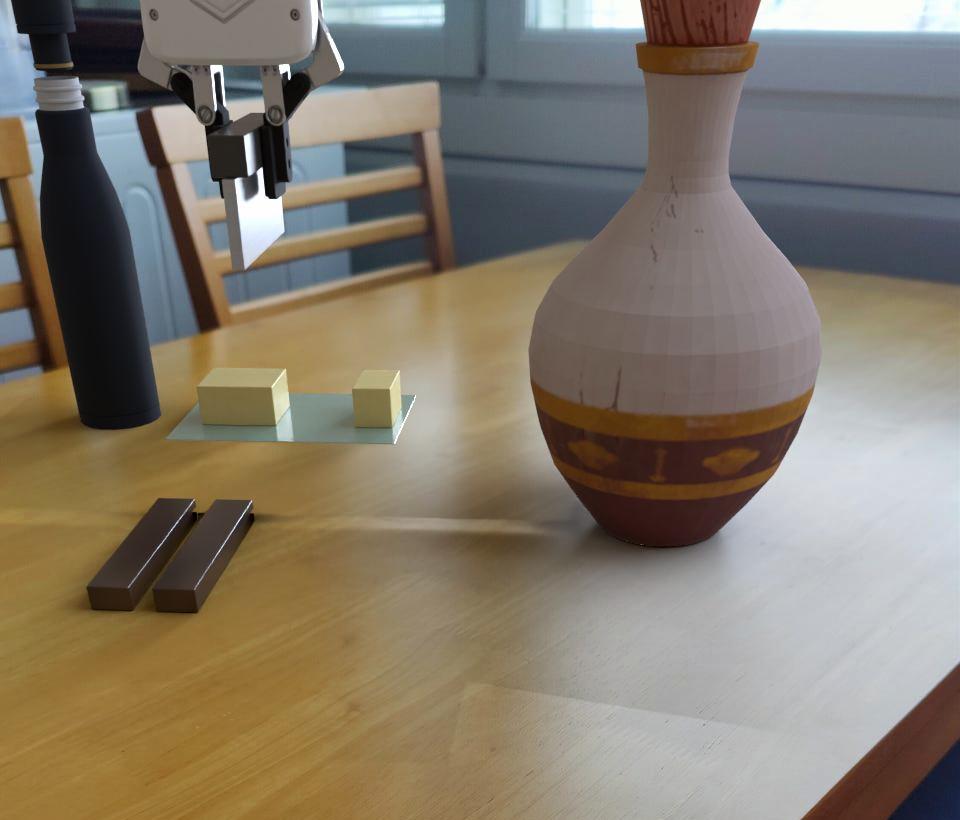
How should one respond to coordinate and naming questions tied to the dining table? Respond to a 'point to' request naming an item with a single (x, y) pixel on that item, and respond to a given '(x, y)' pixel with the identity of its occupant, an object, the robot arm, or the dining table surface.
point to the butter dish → (299, 424)
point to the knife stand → (155, 546)
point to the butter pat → (377, 398)
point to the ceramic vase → (677, 312)
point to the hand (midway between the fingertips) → (253, 192)
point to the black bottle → (86, 240)
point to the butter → (243, 396)
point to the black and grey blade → (245, 190)
